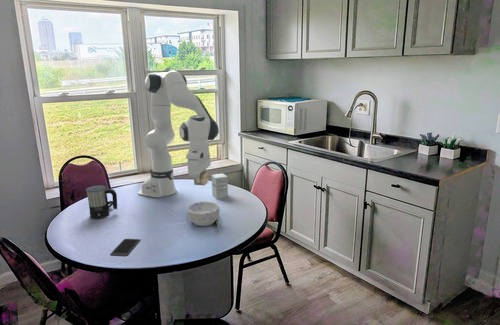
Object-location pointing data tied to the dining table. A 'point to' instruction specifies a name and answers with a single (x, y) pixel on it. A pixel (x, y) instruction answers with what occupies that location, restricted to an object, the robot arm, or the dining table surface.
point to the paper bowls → (203, 213)
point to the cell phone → (125, 247)
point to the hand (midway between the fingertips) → (201, 180)
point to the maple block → (202, 179)
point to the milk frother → (100, 201)
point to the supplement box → (219, 186)
